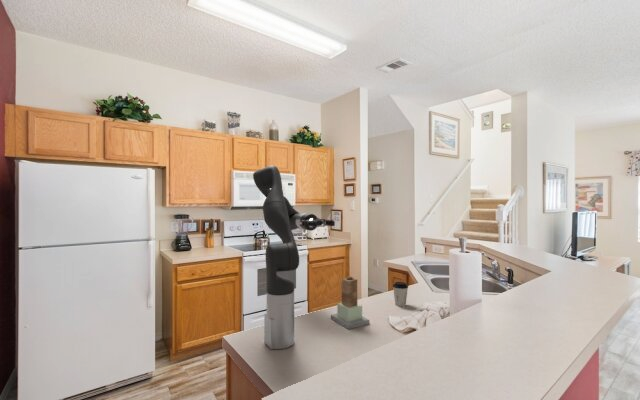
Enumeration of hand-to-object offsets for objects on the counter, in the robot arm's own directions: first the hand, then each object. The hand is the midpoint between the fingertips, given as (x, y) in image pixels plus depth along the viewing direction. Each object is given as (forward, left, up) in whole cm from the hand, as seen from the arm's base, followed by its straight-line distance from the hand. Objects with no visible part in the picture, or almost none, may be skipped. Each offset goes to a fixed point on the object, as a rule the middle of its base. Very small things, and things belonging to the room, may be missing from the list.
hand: (325, 224), depth 127 cm
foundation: (+5, -10, -38) cm, 40 cm away
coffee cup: (+36, -7, -38) cm, 53 cm away
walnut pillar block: (+5, -10, -31) cm, 33 cm away
